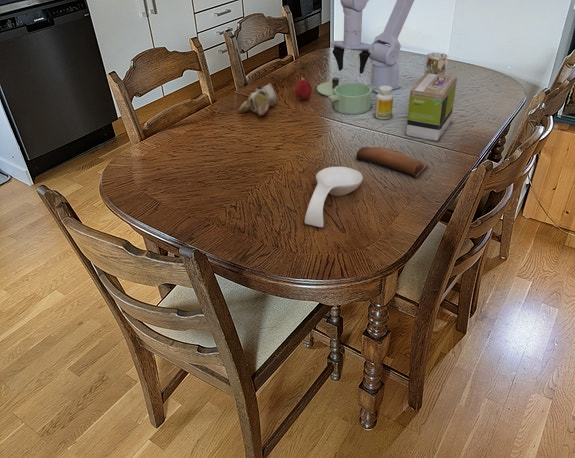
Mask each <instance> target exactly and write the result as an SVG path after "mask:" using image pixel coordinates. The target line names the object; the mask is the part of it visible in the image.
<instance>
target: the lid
mask: <svg viewBox="0 0 575 458" xmlns="http://www.w3.org/2000/svg"><path fill="white" fill-rule="evenodd" d="M344 83H347V82H346V81H340V78H339V77H337V76H335V77H332V79H331V81H326V82H322V83H320V84H318V85H317V87H316V91H317V92H318V93H319V94H320V95H322V96H327V97H328V96H332V95H334V89H335V87H336V86H338V85H340V84H344Z"/></svg>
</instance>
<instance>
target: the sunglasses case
mask: <svg viewBox="0 0 575 458" xmlns="http://www.w3.org/2000/svg"><path fill="white" fill-rule="evenodd" d="M355 157H356V160H360V161H364V162H365V161H366V162H370V163H372V164H373V163H374V164H378V165H380V166H384V167H387V168H391V169H393V170H396V171H399V172H402V173H404V174H405V173H406V174H409V175H411V176H414V177H415V178H417V177H419V176H420V175H421V174H422V173H423V172H424V170H425V169H426V168H427V164H425V163H424V162H422V161H421V160H419V159H416V158H414V157H411V156H409V155H406V154H405V153H403V152H402V151H398V150H395V149H392V148H386V147H381V146H365V147H364V146H363V147H361V148H359V149H358V150H357V153H356V156H355Z"/></svg>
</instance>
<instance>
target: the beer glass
mask: <svg viewBox="0 0 575 458" xmlns="http://www.w3.org/2000/svg"><path fill="white" fill-rule="evenodd" d="M447 66H448V55H447V54H446V53H443V52H430V53H428V54H427V55H426V59H425V63H424V69H423V70H424V72H423V76H424V75H425V74H426V73H429V74H437V75H445V76H446V72H447Z"/></svg>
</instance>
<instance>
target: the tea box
mask: <svg viewBox="0 0 575 458" xmlns="http://www.w3.org/2000/svg"><path fill="white" fill-rule="evenodd" d="M457 82H458V76H453V75H446V74H445V75H437V74H429V73H426V74H425V75H424V74H423V76H422V77H421V78H420V79H419V80H418V81H417V82H416V83H415V84H414V85H413V87H412V88H410V91H409V99H408V108H407V109H408V111H407V120H406V131H405V132H406V133H405V135H406V136H408V137H412V138H413V137H414V138H419V139H424V140H429V141H436V142H437V141H438V140H439V139H440V138H441V136H442V135H443V133H444V132H445V131H446V129H447V128H448V126H449V125H450V123H451V122H452V118H453V110H454V103H455V96H456V88H457Z"/></svg>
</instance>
